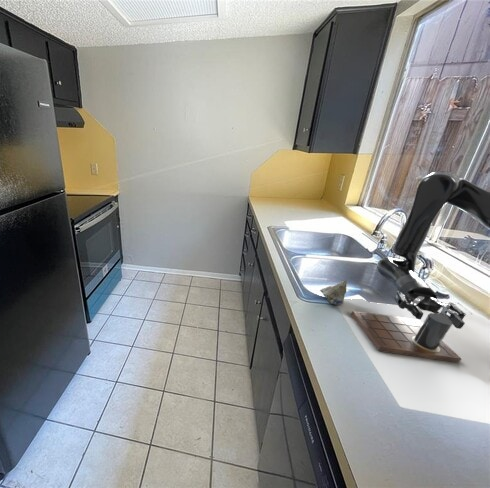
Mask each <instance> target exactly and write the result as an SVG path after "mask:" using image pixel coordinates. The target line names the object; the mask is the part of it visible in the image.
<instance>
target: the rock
mask: <svg viewBox="0 0 490 488" xmlns="http://www.w3.org/2000/svg"><path fill="white" fill-rule="evenodd" d="M347 283H348V280H347V279H345V280H342V281H341V282H339V283H337V284H334V285H329V286H326V287H324V288H321V289H320V290H319V291H320V292H321V293H322V295H323V297H324V298H325V299H326V300H327V301H328V303H330V304H332V305H343V304H344V300H345V296H346V293H347Z"/></svg>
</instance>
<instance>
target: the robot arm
mask: <svg viewBox="0 0 490 488" xmlns="http://www.w3.org/2000/svg"><path fill="white" fill-rule="evenodd" d="M446 204H448V205H450V206H453V207H456V208H457V209H460V210H462V211H463V212H465V213H467V214H468V215H469V216H470V217H472V218H473V219H474V220H475V221H477V222H478V223H479V224H481V225H482V226H483V227H485V228H486V229H488V230H489V231H490V191H488V190H486V189H483V188H481V187H480V186H478V185H476V184H474V183H472V182H471V181H469V180H467V179H466V178H464V177H461V176H460V175H458V173H455V172H452V171H448V170H439V171H434V172H431V173H430V174H428V175H426V176H424V177H423V178H422V179H421V180H420V181H419V182H418V183H417V186H416V191H415V196H414V199H413V203H412V207H411V208H410V212H409V215H408V217H407V219H406V220H405V222H404V224H403V227H402V228H401V230H400V232H399V234H398V235H397V237H396V238H395V241H394V243H393V246H392V248H391V251H392V253H393V254H395V255H396V256H399V257H402V258H403V259H398V258H393V257H383V258H380V260H378V262H377V264H376V270H377V272H378V273H379V275H380V276H382V277H383V278H384V279H386V280H387V281H389V282H391V283H392V284H393V285H394V287H395V288H396V291H397V292H396V294H395V296H394V298H393V299H394V301H395V302H396V304H397V306H398V308H400V309H402V310H404V309H406V310H407V311H408V312H410V313H411V314H412V316H413V317H415V319H419V320H422V318H423V316H424V312H423V311H427V312H429V313H435V314H439V315H442V316H444V317H446V318H448V319H449V320H451V321H452V323H453V324H452V326H454V327H455V328H456V329H459V330H461V329H462V328H463V327H464V326H465V323H466V322H465V321H464V318H465V317H466V315H467V314H466V313H465V312H464V311H463V310H461V308H459V307H458V306H457V305H456V304H455V303H453V302H448V304H446V303H443V302H442V301H441V300H439V299H438V297H437V294H436V292H435V291H434V290H433V289H432V287H430V286H429V285H428V283H426V282H425V280H423V279H422V278H421V277H419V276H418V274H417V273H415V271H416V262H417V257H418V253H419V252H420V250H421V248H422V246H423V244H424V242H425V241H426V239H427V236H428V234H429V231H430V229H431V227H432V224H433V222H434V220H435V218H436V217H437V215H438V214H439V212H440V211H441V209H442V208H443V207H444V206H445V205H446ZM440 310H441V311H440ZM447 313H448V314H449V315H448V314H447Z"/></svg>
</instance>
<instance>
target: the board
mask: <svg viewBox="0 0 490 488" xmlns="http://www.w3.org/2000/svg"><path fill="white" fill-rule="evenodd" d="M350 315H351V317H352V318H353V319H354V321H356V323H357V325H358V326H359V328H361V330H362V332H364V334H365V335H366V337H367V338H368V339H369V341H370V342H371V343H372V345H373V346H374V347H375V349H376V350H377V351H378V352H385V353H391V354H397V355H404V356H405V355H406V356H411V357H416V358H417V357H418V358H425V359H431V360H439V361H445V362H451V363H458V364H459V363H460V362H461V360H462V358H461V357H460V356H459V354H457V353H456V352H455V351H454V350H452V348H451V347H449V345H447V344H446V343H445V342H444V341H443V340H442V341H441V343H440V345H439V346H438V348H437V349H436V350H430V349H427V348H424V347H422V346H420V345H419V344H418V343H416V341H415V340H414V338H415V337H416V335H417V333H418V331H419V330H420V328H421V326H422V324H423V323H424V322H423V321H421V319H416V318H410V317H402V316H395V315H388V314H380V313H372V312H364V311H356V310H351V313H350Z"/></svg>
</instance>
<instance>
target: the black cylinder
mask: <svg viewBox="0 0 490 488" xmlns="http://www.w3.org/2000/svg"><path fill="white" fill-rule="evenodd" d="M422 323H423V324H422V326H421V328H420V330H419V331H418V333H417V335H416V337H415V338H414V340H415V341H416V343H418V344H419V345H420V346H422V347H424V348H427V349H430V350H436V349H437V348H438V346H439V345H440V343H441V341H443V340H444V338H445V337H446V335H447V333H448V332H449V330H450V329H451V327H452V326H453V323H452V321H451V320H449V319H448V318H446V317H444V316H442V315H439V314H435V313H433V312H429V313H428V314H427V316H426V318H425V319H424V320H423V322H422Z"/></svg>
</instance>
